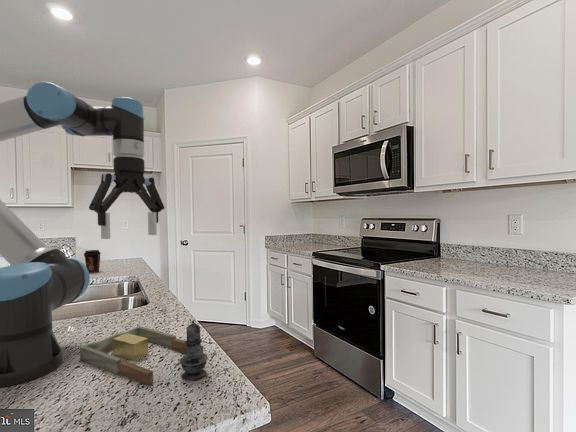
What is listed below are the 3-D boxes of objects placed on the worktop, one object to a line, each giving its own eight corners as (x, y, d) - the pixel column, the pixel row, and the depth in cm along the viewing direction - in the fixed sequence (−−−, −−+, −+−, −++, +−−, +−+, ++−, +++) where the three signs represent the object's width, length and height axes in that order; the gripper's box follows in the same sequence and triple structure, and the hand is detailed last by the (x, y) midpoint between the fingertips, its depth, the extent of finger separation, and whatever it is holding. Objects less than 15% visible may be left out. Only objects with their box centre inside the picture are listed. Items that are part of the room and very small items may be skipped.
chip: (123, 357, 79) (122, 341, 79) (112, 354, 81) (112, 338, 81) (137, 351, 83) (137, 335, 83) (127, 348, 85) (126, 333, 84)
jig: (146, 386, 66) (146, 371, 66) (80, 359, 78) (80, 346, 78) (204, 355, 79) (204, 343, 79) (139, 336, 92) (139, 326, 92)
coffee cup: (85, 271, 193) (85, 250, 193) (101, 270, 197) (101, 249, 197) (83, 274, 185) (82, 251, 185) (100, 273, 189) (99, 250, 189)
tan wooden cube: (134, 360, 77) (133, 344, 77) (123, 357, 79) (123, 341, 79) (148, 354, 81) (148, 338, 81) (137, 351, 83) (137, 335, 83)
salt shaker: (197, 366, 74) (196, 313, 74) (213, 374, 70) (212, 319, 70) (174, 376, 70) (173, 320, 69) (190, 385, 66) (189, 326, 66)
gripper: (88, 149, 75) (90, 241, 75) (175, 162, 96) (177, 233, 96) (71, 152, 78) (73, 240, 79) (159, 164, 100) (160, 233, 100)
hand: (130, 236), depth 88 cm, fingers open, 13 cm apart
